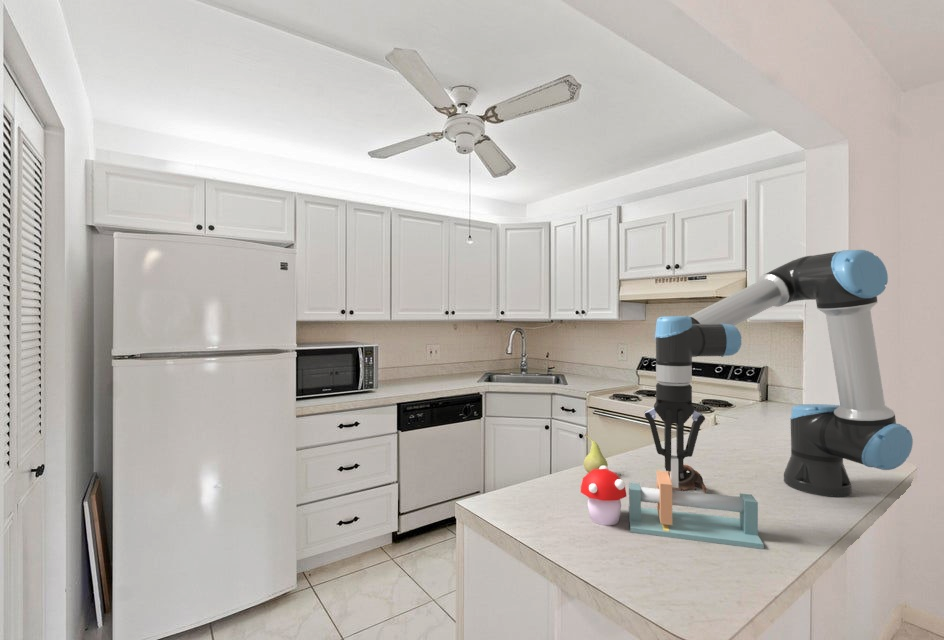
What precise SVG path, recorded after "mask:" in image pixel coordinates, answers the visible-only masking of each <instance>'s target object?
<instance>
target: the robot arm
mask: <svg viewBox="0 0 944 640" xmlns="http://www.w3.org/2000/svg"><path fill="white" fill-rule="evenodd" d="M888 281H889V275H888V270H887V268H886V265H885V264H884V262H883V260H881V258H880V257H879V256H877V255H875V254H874V253H873V252H872V251H869V250H866V249H851V250H850V249H847V250H846V249H843V250H839V251H835V252H827V253H822V254H815V255H806V256H802V257H799V258H796V259H792V260H791V261H788V262H786V263H784V264H782V265H780V266H778V267H775V268H774V269H772V270H770V271H769V272H767V273H764V274H762V275H760V276H759V277H758V279H757V281H756V282H754V283H753V284H751V285H749V286H747V287H745V288H743V289H741V290H739V291H737V292H734V293H732V294H731V295H729V296H727V297H725V298H724V297H723V298H722V299H720V300H718V301H716V302H715V303H712V304H710V305H708V306H707V307H705V308H703V309H701V310H698V311H696V312H695V313H693V314H690V315H686V316H685V315H682V316H681V315H678V316H676V315H675V316H674V315H673V316H671V315H670V316H669V315H668V316H660V317H659V316H658V318H657V319H656V323H655V324H656V325H655V333H654V342H655V361H656V362H655V363H656V364H655V380H656V381H657V383H656V384H655V403H654V405H653V407H652V408H651V409H649V410H645V411H644V413H643V414H644V417H645V418H646V420H647V421H648V423H649V427H650V430H651V433H652V438H653V441H654V442H653V443H654V445H655V450H656V452H657V454H658V455H661V456H663V457H664V469H665V471H667V472H669V471H670V480H671V483H672V487H674V488H678V472H682V473H683V465H684V459H685V458H690V457H693V454H694V450H695V446H696V442H697V439H698V436H699V432H700V428H701V426H702V424H703V423H704V422H705V420H706V417H705V415H703V414H702V413H699V412H698V411H696V410H695V406H693V405H694V404H693V387H692V385H691V384H690V383H692V382H693V375H692V374H693V373H692V372H693V371H692V370H693V368H692V367H693V364H692V363H693V362H692V361H693V358H695V357H696V358H697V357H722V358H723V357H727V356H734V355H735V354H737V353H738V352H739V350H741V347H742V334H741V332H740V331H739V329H738V328H737V327H736V325H738V324H741V323H743V322H744V321H746V320H748V319H750V318H753V317H755V316H756V315H758V314H760V313H762V312H764V311H766V310H768V309H770V308H772V307H783V306H784V305H786V304H790V303H792V302H797V301H798V302H799V301H806V300H807V301H808V300H813V301H814V300H815V303H816V309H817V310H819V311H820V312H821V313H823V314H825V317H826V318H825V319H826V323H827V331H828V337H829V344H830V351H831V355H832V363H833V368H834V369H833V370H834V375H835V376H834V377H835V380H836V387H837V388H836V389H837V394H838V400H839V404H824V403H822V404H819V403H812V404H811V403H809V404H808V403H807V404H806V403H805V404H797V405H794V406H793V407H792V408H791V411H790V413H791V414H790V448H791V450H790V458H789V460H788V463H787V465H786V467H785V469H784V473H783V482H784V483H785V484H786V485H787V486H788V487H791V488H793V489H795V490H799V491H801V492H805V493H809V494H812V495H813V494H814V495H819V496H827V497H847V496H850V495H851V494H852V482H851V479H850V478H849V474H848V472H847V469H846V468H845V464H844V459H845V460H848V461H851V462H854V463H858V464H860V465H863V466H865V467H867V468H874V469H878V470H882V471H891V470H895V469H897V468H899V467H900V466H901V465H903V464H905V462H906V461H907V459H908V458H909V457H910V454H911V452H912V451H913V444H914V443H913V442H914V439H913V434H912V433H911V431H910V430H909V429H908V428H907V427H906V426H904V425H902V424H900V423H897V420H896V414H895V411H894V410H893V409H892V408H889V407H888V406H887V405H886V402H885V397H884V390H883V384H882V378H881V376H882V375H881V370H880V364H879V356H878V350H877V346H876V339H875V332H874V325H873V319H872V313H871V312H872V311H871V310H872V309H873V307H874V306H876V304H878V296H880V295H881V294H883V292H885V290H886V285H887V284H888ZM656 414H657V415H658V416H659V418H660V419H661V420H662V422H663V423H664V424H663V425H664V429H663V430H664V437H663V438H664V440H663V441H664V444H663V445H664V448H663V447H662V444H661V440H660V436H659V431H658V428H657V424H656V421H655V419H656V418H657V417H656ZM691 416H692V417H691ZM690 418H691V420H692V423H691V427H690V430H689V435H688V439H687V443H686V445H685V443H684V442H685V439H684V437H685V435H684V432H685V431H684V430H685V423H686V422H688V420H689V419H690ZM673 424H674V425H675V426H676V427H675V428H676V429H675V430H676V431H675V433H676V439H675V441H676V455H672V428H673V427H672V425H673ZM684 445H685V447H684ZM684 448H685V449H684Z"/></svg>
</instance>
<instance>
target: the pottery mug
mask: <svg viewBox="0 0 944 640" xmlns="http://www.w3.org/2000/svg"><path fill="white" fill-rule="evenodd" d="M667 472H668V474H669V477H670V471H667ZM696 488H697V489H701V490H702V491H703V492H704V493H706V494H708V492H707V488H706V485H705V483H704V479H703V476H702V475H701V473H700V472H698V471H697V470H695V468H693V467H692V466H690V465H688V464H683V473H682V472H678V488H674V487H672V490H676V491H688V490H696Z"/></svg>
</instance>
